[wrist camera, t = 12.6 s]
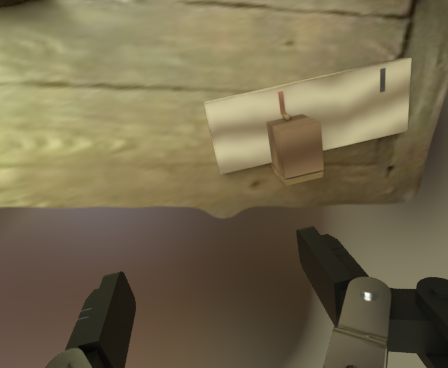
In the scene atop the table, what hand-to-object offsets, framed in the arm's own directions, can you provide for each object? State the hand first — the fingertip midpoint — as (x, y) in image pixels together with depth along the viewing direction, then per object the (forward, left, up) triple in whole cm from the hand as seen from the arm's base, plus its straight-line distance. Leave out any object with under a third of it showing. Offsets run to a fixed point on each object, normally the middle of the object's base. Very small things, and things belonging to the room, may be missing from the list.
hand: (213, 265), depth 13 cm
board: (+2, +16, -30) cm, 34 cm away
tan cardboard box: (+4, +12, -29) cm, 32 cm away
